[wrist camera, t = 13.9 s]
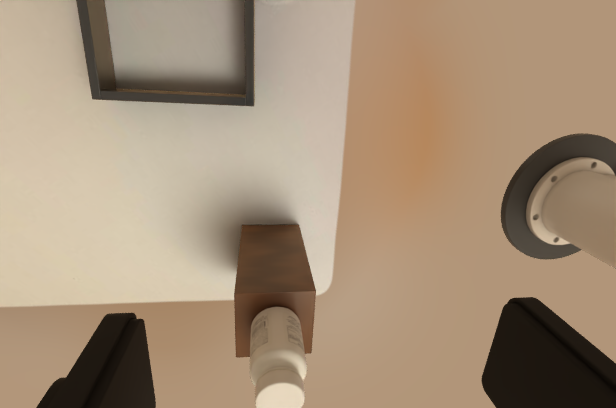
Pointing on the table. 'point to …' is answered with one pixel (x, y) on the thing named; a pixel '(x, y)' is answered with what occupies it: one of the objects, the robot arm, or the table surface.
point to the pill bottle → (277, 359)
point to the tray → (105, 89)
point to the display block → (272, 280)
